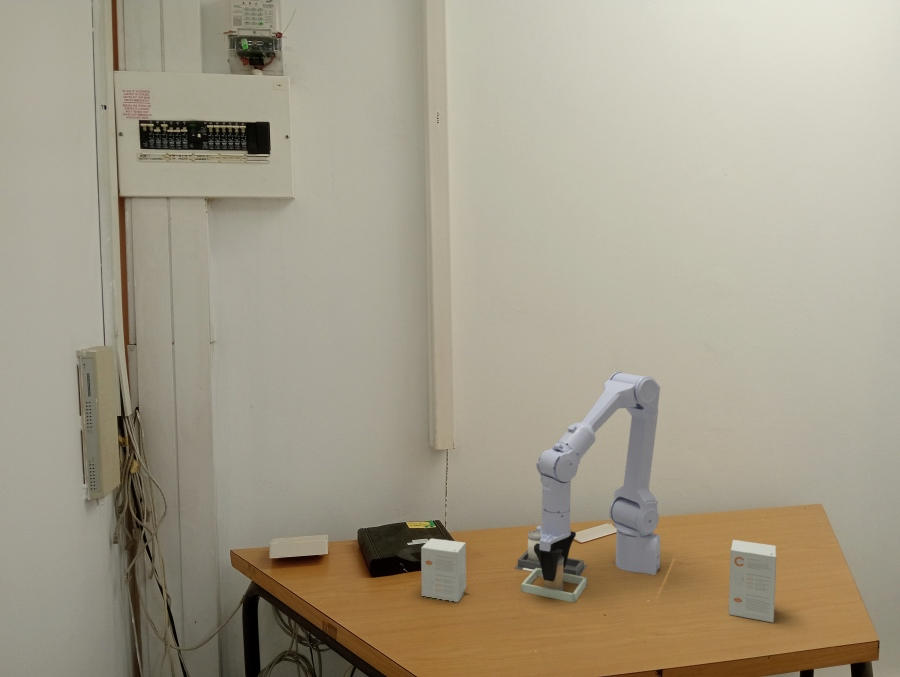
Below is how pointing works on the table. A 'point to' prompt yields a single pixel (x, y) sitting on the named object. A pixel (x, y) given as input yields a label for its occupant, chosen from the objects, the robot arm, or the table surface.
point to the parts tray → (551, 592)
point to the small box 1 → (443, 569)
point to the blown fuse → (557, 577)
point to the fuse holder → (523, 564)
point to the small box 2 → (752, 580)
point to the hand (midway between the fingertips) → (554, 573)
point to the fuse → (533, 539)
